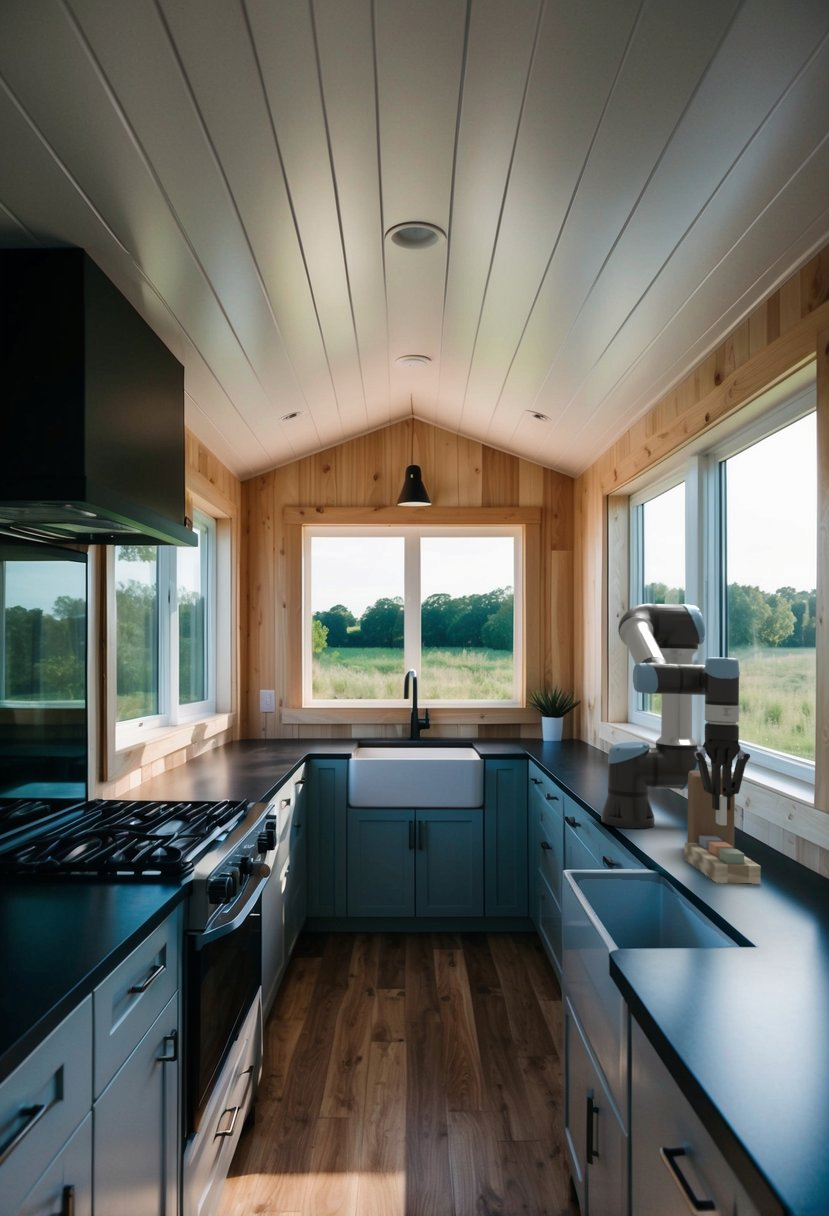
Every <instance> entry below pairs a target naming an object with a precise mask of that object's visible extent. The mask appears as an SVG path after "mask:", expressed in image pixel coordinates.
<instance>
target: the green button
mask: <svg viewBox="0 0 829 1216" xmlns="http://www.w3.org/2000/svg"><path fill="white" fill-rule="evenodd" d="M744 856H745V853H744V852H742V851H741V850H739V849H737V848H734V849H719V860H721V861H722V862H723V863H725V864H744Z"/></svg>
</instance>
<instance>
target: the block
mask: <svg viewBox="0 0 829 1216" xmlns="http://www.w3.org/2000/svg"><path fill="white" fill-rule="evenodd" d="M708 771H709V770H708ZM709 776H710V780H711V770H710V771H709ZM720 795H723V793H722V771H721V794H720ZM735 795H736V794H734V795H733V796H732V797H731V805H730V806H731V808H730V810H727V825H719V824H717V823H716V810H715V809H713V808H712V795H711V794H710V793H708V792H706V791H704V788H703V784H702V779H701V775H700V771H696V770H692V771H689V773H688V789H687V838H686V839H687V842H686V843H699V836H716V837H718V838H720V839H721V840H722V842H726V843H728V844H729V845H731V846H733V849H735V814H736V813H735V808H736V807H735V799H736V798H735V797H736V796H735Z"/></svg>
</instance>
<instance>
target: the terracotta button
mask: <svg viewBox="0 0 829 1216" xmlns="http://www.w3.org/2000/svg"><path fill="white" fill-rule="evenodd" d="M719 849H733V846H731V845H729V844H728V843H726V842H709V853H710V854H712V855H713V856H719Z"/></svg>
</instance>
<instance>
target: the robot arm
mask: <svg viewBox="0 0 829 1216" xmlns="http://www.w3.org/2000/svg"><path fill="white" fill-rule="evenodd" d="M705 628H706V626H705V621H704V617H703V613H702V612H701V610H700V608H699V607H698V606H696V605H694V604H693V605H692V604H685V603H684V604H683V603H680V604H679V603H642V604H637V605H636V606H633V607H632V608H630V609H628V610H627V611H626V612H625V613H624V614H623V616H622V617H621V618H620V620H619V623H618V628H617V629H618V635H619V639H620V640H621V642H622V643H623V644H624V645H625V646H627V648H628V650H629V653H630V655H631V657H632V659H633V662H634V664H635V665H634V667H633V671H632V683H633V689H634V690H635V692H637V693H640V694H649V695H653V694H655V695H657V694H659V695H661V718H660V720H661V723H660V725H661V727H660V729H661V735H660V736H659V738H657V739H656V741H655V747H651V746H650V744H649V743H648V742H647V741H646V742H644V741H631V742H630V741H629V742H621V743H617V744H613V745H612V746H610V747H609V749H608V757H607V796H606V799H605V802H604V805H603V808H602V811H601V815H600V816H601V817H600V819H601V822H602V823H603V824H606V825H609V826H612V827H616V828H622V827H623V828H622V829H635V828H640V829H647V828H653V827H654V826H655V823H656V821H655V820H656V819H655V815H654V811H653V807H652V805H651V800H650V797H649V793H650V790H649V789H673V790H674V789H675V790H680V791H682V790H688V773H689V771H692V770H696V771H700V775H701V779H702V784H703V788H704V791H706V792H708V793H710V794H711V795H712V808H713V809H715V810H716V823H717V824H719V825H727V810H730V808H731V806H730V805H731V797H732V796H733V795H734V794H735V795H738V794H739V793H740V791H741V786H742V781H743V778H744V774H745V770H746V769H745V768H746V764H747V762H748V761H749V760H750V759H751V754H749V753H748V752H745V751H743V750H742V749H741V745H740V743H739V740H740V737H739V736H740V735H739V733H740V726H739V725H738V724H737V723H739V721H740V708H739V707H740V705H739V703H740V675H741V673H740V664H739V660H738V659H737V658H735V657H707V658H705V661H704V664H693V656H694V655H695V653H697V651H699V645H703V644H704V643H705V636H706V629H705ZM693 695H695V696H696V695H697V696H704V720H705V721H706V723H704V743H703V745H702V748H701V749H700V748H698V743H697V742H696V740H695V739H694V738H693ZM707 757H708V758H709V760H710V766H711V769H710V771H711V780H710V776H709V768H708V763H707V761H706V758H707ZM735 758H737V760H736V762H735V766H734V769H733V770H734V771H732V768H733V761H734V760H735ZM721 772H722V793H723V795H720V794H721ZM732 772H733V774H732Z"/></svg>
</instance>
